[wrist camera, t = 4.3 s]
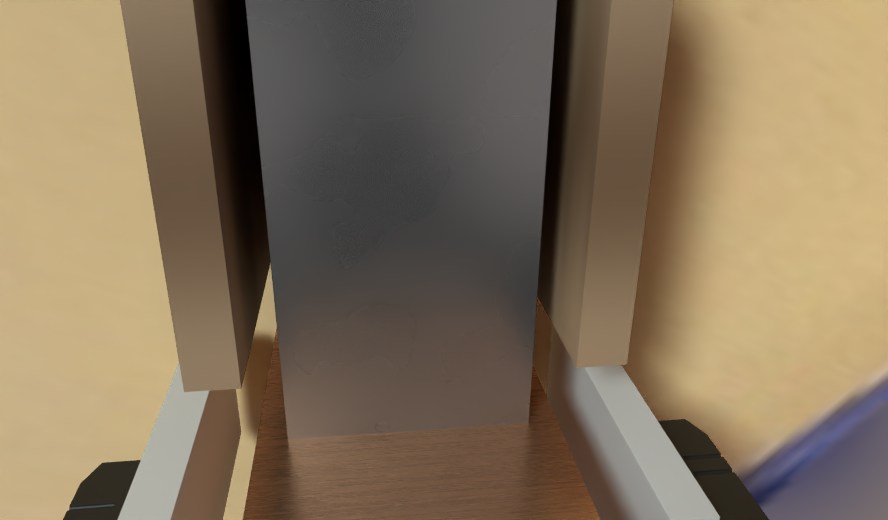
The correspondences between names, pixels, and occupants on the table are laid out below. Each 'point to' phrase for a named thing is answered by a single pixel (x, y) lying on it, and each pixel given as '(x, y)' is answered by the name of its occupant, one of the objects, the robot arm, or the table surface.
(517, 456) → the blue and tan block
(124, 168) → the table surface
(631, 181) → the sleeve
